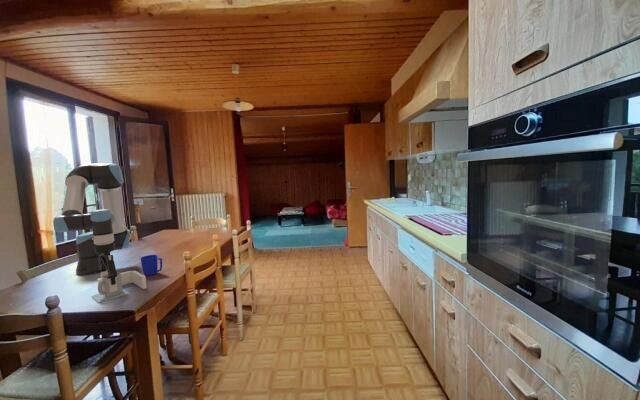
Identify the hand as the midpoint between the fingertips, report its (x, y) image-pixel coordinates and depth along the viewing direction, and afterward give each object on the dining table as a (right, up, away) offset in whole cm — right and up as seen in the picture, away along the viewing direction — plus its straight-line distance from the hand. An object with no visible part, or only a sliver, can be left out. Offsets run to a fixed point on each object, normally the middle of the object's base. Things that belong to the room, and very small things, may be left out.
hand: (109, 288), depth 137 cm
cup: (0, -3, 0) cm, 3 cm away
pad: (0, -4, 0) cm, 4 cm away
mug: (+5, -1, +28) cm, 29 cm away
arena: (+2, -3, +7) cm, 8 cm away
